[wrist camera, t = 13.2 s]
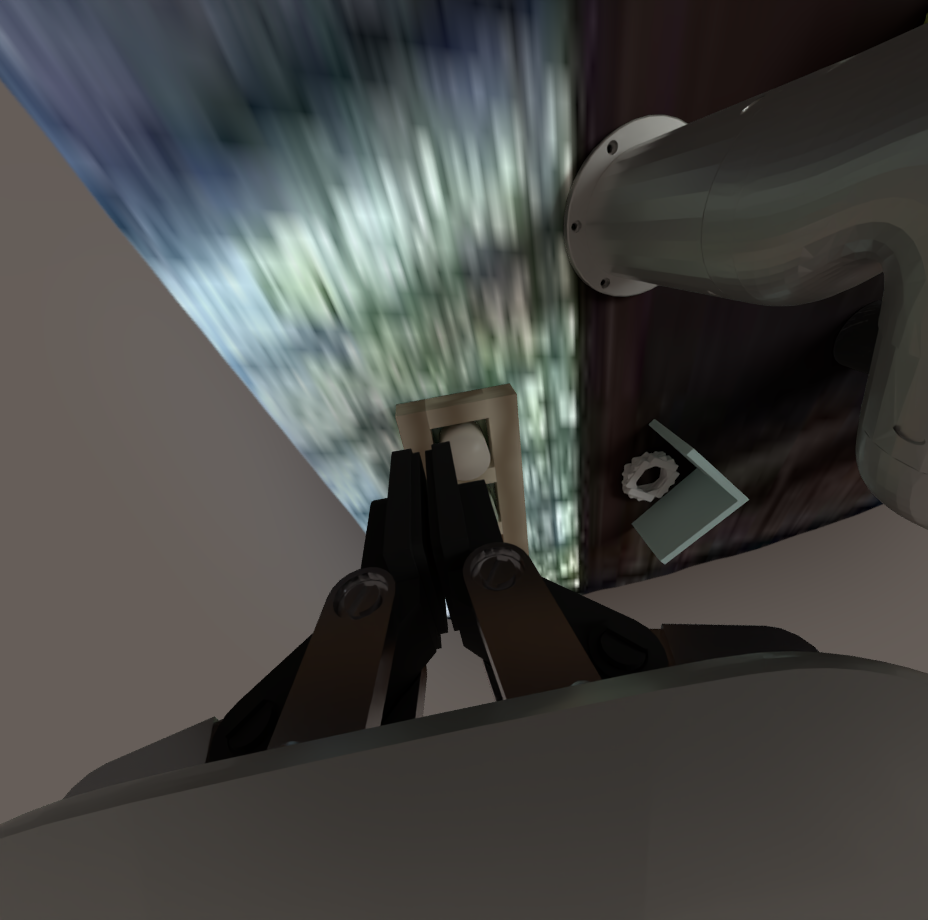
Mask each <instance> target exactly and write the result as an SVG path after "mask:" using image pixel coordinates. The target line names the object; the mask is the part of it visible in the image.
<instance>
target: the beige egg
mask: <svg viewBox="0 0 928 920" xmlns="http://www.w3.org/2000/svg"><path fill="white" fill-rule="evenodd" d="M439 441H440V443H441V442H447V441H450V446H451V451H452V456H453V461H454V466H455V471H456V477H457V480H462V481H467V480H473V479H475V478H478V477H479V476H481V475H482V474H483V473H484V472H485V471H486V470H487V468H488V467H489V464H490V453H489V450H488V447H487V444H486V441H485V439H484V436H483V433H482V430H481V428H480V426H479V425H478V424H477V423H476V422H475V421H470V422H465V423H460V424H454V425H449V426H444V427H442V429H441V431H440V434H439Z"/></svg>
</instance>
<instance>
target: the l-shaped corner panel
mask: <svg viewBox="0 0 928 920" xmlns="http://www.w3.org/2000/svg"><path fill="white" fill-rule="evenodd" d="M648 425H649V426H651V427H652V428H653V429H654V430H655V431H656V432H657V433H658V434H660V435H661V436H662V437H663V438H664V439H665V440H666V441H668V442H669V443H670V444H671V445H672V446H673V447H674V448H675V449H677V450H678V451H679V452H680V453H681V454H682V455H683V456H684V457H686V458H687V459H688V460H689V461H690V462H691V463H692V464H694V465H695V466H696V467H697V468H696V469H695V470H694V471H693V472H692V473H691V474H689V475H688V476H687V477H686V478H685V479H683V480H682V481H681V482H680V483H679V484H678V485H676V486H675V487H674V488H673V489H672V490H671V491H669V492H668V488H669V487H670V486H671V485H673V484H675V479H676V478H677V477H678V476H679V473H678V472H676V469H677V468H678V465H676V464H675V462H674V459H671V457H670V456H669V455H668V456H666V453H664V452H663V451H661V452H657V451H655V452H654V453H650V454H649V453H648V452H645V453H644V454H643V455H642V456H639V457H634V458H632V463H629V464H626V465H625V466H624V472H623V473H622V475H623V476H624V478H623V481H622V484H623V488H622V489H623V490H624V493H626V494H628V496H629V497H630V498H634V497H635V499H637V500H638V501H641V500H646V501H649V502H651V501H652V500H653V499H654V497H657V498H661V497H662V496H663V494H664V493H666V492H668V493H667V494H666V495H665V496H663V497H662V498H661V499H660V500H659V501H658V502H656V503H655V504H654V505H653V506H652V507H650V508H649V509H648V510H647V511H646V512H645V513H643V514H642V515H641V516H640V517H639V518H638V519H636V520H635V521H634V522H633V523H632V525H633V526H634V528H635V529H636V530H637V532H638V533H639V534H640V535H641V537H642V538H643V539H644V541H645V542H646V543H647V545H648V546H649V547H650V548H651V550H652V551H653V552H654V554H655V555H656V556H657V558H658V559H659V560H660V561H661V562H662V563H664V564H666V563H667V562H668V561H670V560H671V559H672V558H674V557H675V556H676V555H678V554H679V553H680V552H682V551H683V550H684V549H685V548H687V547H688V546H689V545H691V544H692V543H693V542H695V541H696V540H697V539H698V538H700V537H701V536H702V535H704V534H705V533H706V532H708V531H709V530H710V529H712V528H713V527H714V526H715V525H717V524H718V523H719V522H721V521H722V520H723V519H725V518H726V517H727V516H728V515H730V514H731V513H732V512H734V511H735V510H736V509H738V508H739V507H740V506H742V505H743V504H744V503H745V502H747V501H748V500H749V499H748V498H747V497H746V496H745V495H744V494H743V493H742V492H740V491H739V490H738V489H737V488H736V487H735V486H734V485H733V484H732V483H731V482H730V481H728V480H727V479H726V478H725V477H724V476H723V475H722V474H721V473H720V472H719V471H718V470H717V469H715V468H714V467H713V466H712V465H711V464H710V463H709V462H708V461H707V460H706V459H705V458H703V457H702V456H701V455H700V454H699V453H698V452H697V451H696V450H695V449H694V448H692V447H691V446H690V445H688V444H687V443H686V442H684V441H683V440H682V439H680V438H679V437H678V436H676V435H675V434H674V433H672V432H671V431H670V430H668V429H667V428H666V427H664V426H663V425H662V424H660V423H659V422H658V421H656V420H655V419H654V420H653V421H652V422H650V423H649V424H648ZM654 466H658V467H660V468H661V471H660V478H658V479H657V480H656V481H655V482H654V483H650V484H645V485H640V486H637V485H636V482H637V480H638V479H639V478H640V476H641V475H642V474H643V472H644V471H645V470H646V469H649V468H651V467H654Z"/></svg>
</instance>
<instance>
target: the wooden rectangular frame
mask: <svg viewBox="0 0 928 920" xmlns="http://www.w3.org/2000/svg"><path fill="white" fill-rule="evenodd" d="M395 417H396V421H397V425H398V428H399V432H400V436H401V439H402V443H403V447H404V450H405V449H410V448H411V449H412V452H413V453H415V452H420V456H421V459H422V463H423V467H424V471H425V475H426V462H425V451H426V450H431V449H432V448H431V444H435V443H434V439H433V434H432V429H433V428H439V427H444V426H449V425H454V424H460V423H465V422H470V421H475V420H481V419H485V420H486V428H487V436H488V443H489V451H490V464H489V467H488V468H487V470H486V471H485V472H484V473H483V474H482V475H481V476H479V477H478V478H475V479H473V480H467V481H462V480H457V482H458V484H462V483H467V482H472V481H477V480H482V479H484V480H485V483H486V484H489V483H494V490H495V497H496V505H497V506H496V511H497V514H498V526H499V529H500V532H501V536H502V539H503V542H506V543H510V544H513V545H516V546H518V547H519V548H521V549H523V550H524V551H525V552H526V553H527V555H528V556H529V552H528V539H527V525H526V512H525V499H524V486H523V472H522V459H521V446H520V433H519V419H518V406H517V394H516V392H515V391H514V389H513V388H512V386H511V385H510V383H509V384H504V385H499V386H493V387H488V388H483V389H477V390H472V391H467V392H461V393H456V394H451V395H445V396H440V397H435V398H429V399H424V400H419V401H414V402H408V403H403V404H398V405H396V415H395ZM426 479H427V478H426Z"/></svg>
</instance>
